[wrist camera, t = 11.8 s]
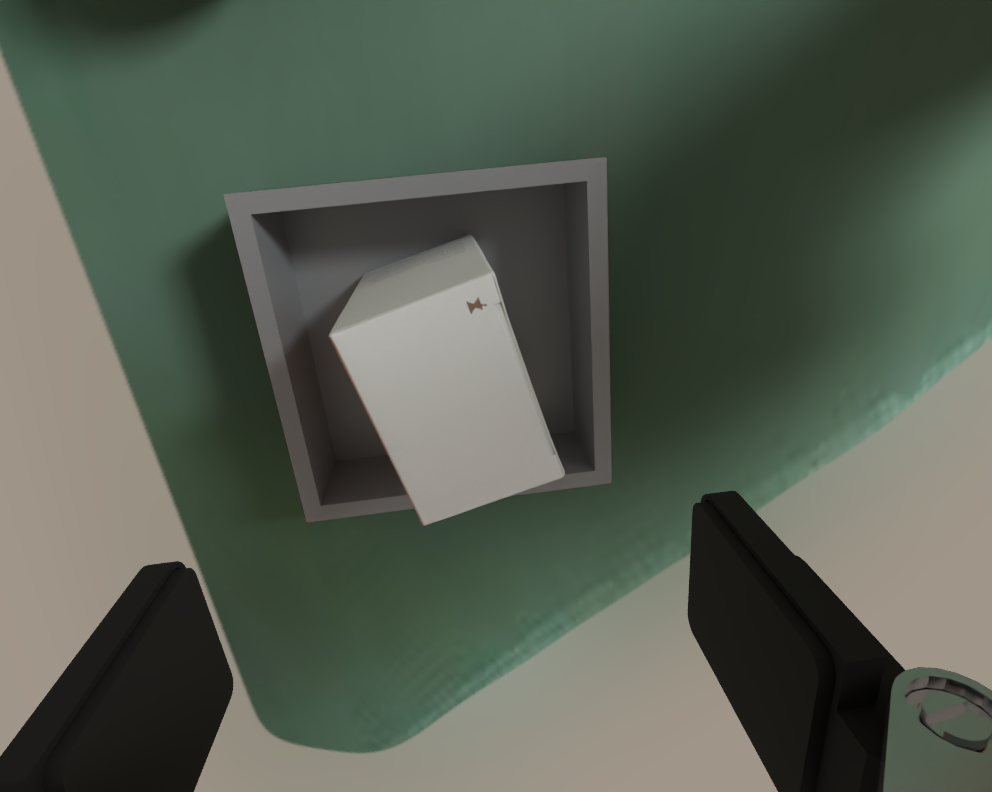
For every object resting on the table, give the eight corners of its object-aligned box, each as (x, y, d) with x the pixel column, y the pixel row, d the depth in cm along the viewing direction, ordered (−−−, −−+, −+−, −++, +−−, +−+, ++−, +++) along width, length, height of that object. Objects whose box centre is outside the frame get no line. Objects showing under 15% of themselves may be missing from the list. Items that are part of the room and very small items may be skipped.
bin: (577, 159, 27) (606, 157, 22) (586, 438, 32) (611, 483, 28) (261, 189, 26) (223, 194, 21) (326, 470, 31) (306, 522, 27)
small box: (362, 272, 27) (320, 328, 17) (472, 230, 27) (493, 264, 17) (425, 416, 30) (420, 533, 20) (525, 379, 30) (568, 480, 20)
